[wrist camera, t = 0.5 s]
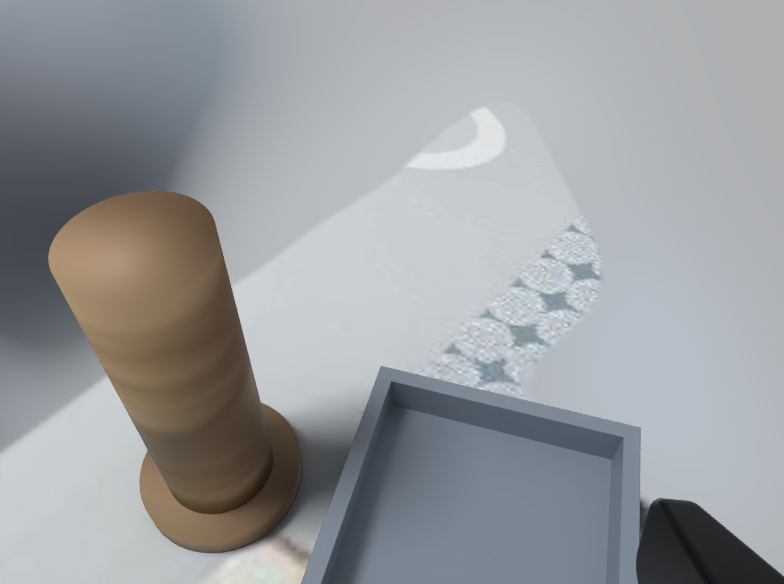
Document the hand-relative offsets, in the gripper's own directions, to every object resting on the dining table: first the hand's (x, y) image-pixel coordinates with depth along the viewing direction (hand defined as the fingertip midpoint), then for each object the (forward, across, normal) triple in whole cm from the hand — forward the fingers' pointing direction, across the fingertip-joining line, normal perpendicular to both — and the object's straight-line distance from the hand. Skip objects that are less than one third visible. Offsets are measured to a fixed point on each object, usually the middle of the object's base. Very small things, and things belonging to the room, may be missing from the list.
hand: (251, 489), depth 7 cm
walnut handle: (+14, +6, +12) cm, 19 cm away
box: (+12, -4, +12) cm, 18 cm away
